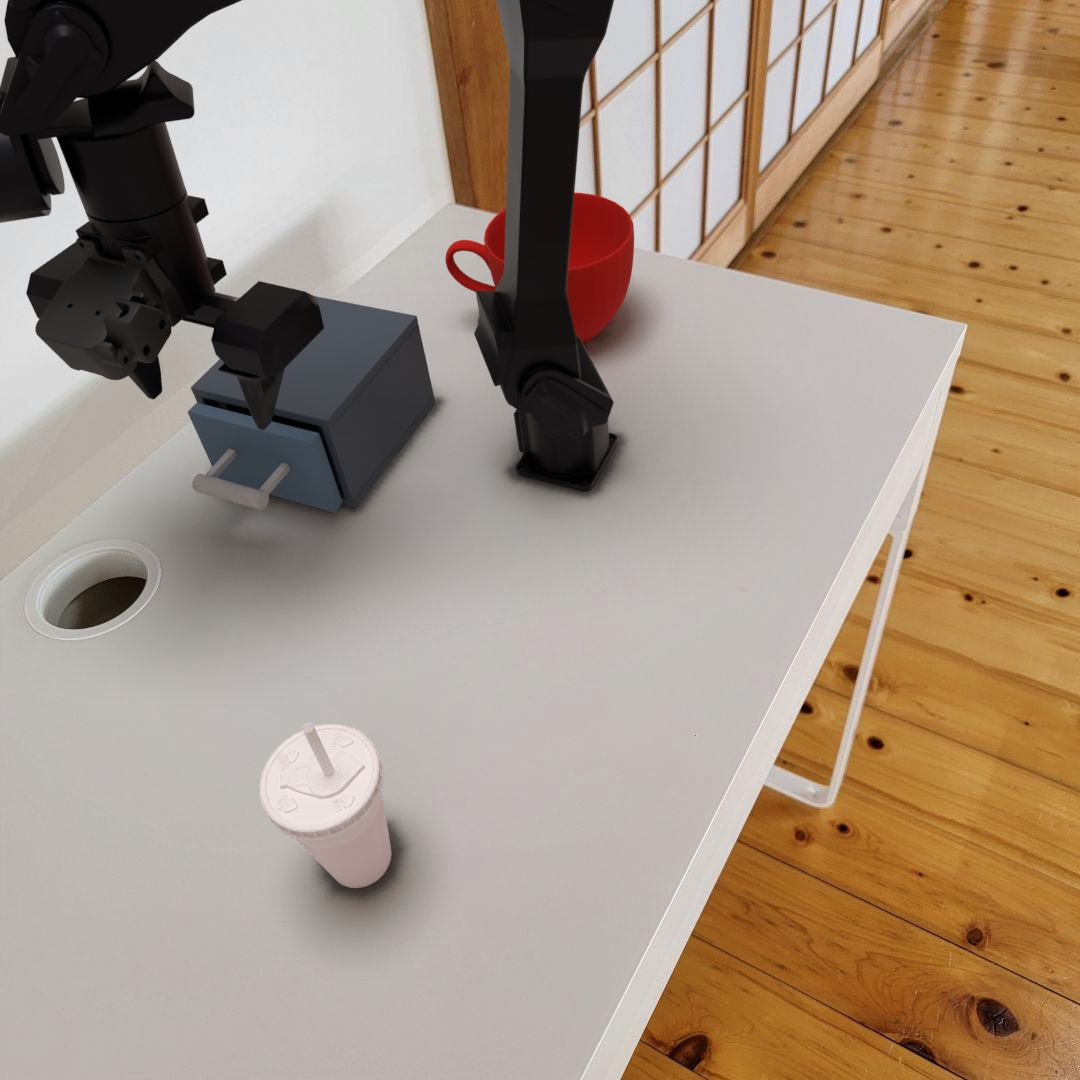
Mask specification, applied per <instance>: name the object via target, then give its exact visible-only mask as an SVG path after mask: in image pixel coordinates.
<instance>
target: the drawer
mask: <svg viewBox="0 0 1080 1080" xmlns="http://www.w3.org/2000/svg"><path fill="white" fill-rule="evenodd" d="M217 402H218V404H219V407H220V408H216V407H212V406H208V405H204V404H200V403H197V402H196V403H195V404H193V406H191V407H190V409H188V410H187V414H188V417H189V419H190V421H191V423H192V426H193V427H194V428H193V429H194V430H195V432H196V434H197V437H198V439H199V441H200V443H201V446H202V448H203V450H204V452H205V453H206V456H207V458H208V461H209V462H210V465H211V468H210V469H209V470H208V471H207V472H206V473H205V474H203V473H198V474H196V475H195V476H194V477H193V479H192V483H191V484H192V489H193V491H194V492H196V493H200V494H202V495H203V494H204V495H206V496H209V497H214V498H217V499H221V500H223V501H224V500H225V501H228V502H231V503H235V504H239V505H241V506H245V507H249V508H252V509H255V510H259V511H262V510H263V511H264V510H265V509H266V508H267V507H268V505H269V501H270V496H272V497H273V496H274V497H277V498H281V499H284V500H288V501H291V502H295V503H297V504H298V503H299V504H303V505H306V506H310V507H313V508H317V509H320V510H324V511H326V512H327V511H328V512H331V513H336V512H337V511H338V509H339V508H340V507H341V505H342V500H341V497H340V494H339V491H338V488H337V485H339V486H341V485H340V482H339V479H338V476H337V473H336V470H335V467H334V464H333V461H332V458H331V455H330V452H329V449H328V446H327V443H326V440H325V437H324V434H323V431H322V428H321V426H317V425H313V424H309V423H305V422H301V421H297V420H293V419H288V418H284V417H280V416H276V415H273V418H272V422H271V423H270V424H269V425H268V426H267V428H266V429H265V430H260V429H258V428H257V426H256V424H255V422H254V420H253V418H252V416H251V414H250V411H249V409H248V408H244V407H240V406H235V405H231V404H227V403H223V402H219V401H217Z"/></svg>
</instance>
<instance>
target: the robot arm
mask: <svg viewBox="0 0 1080 1080" xmlns="http://www.w3.org/2000/svg"><path fill="white" fill-rule="evenodd" d="M242 1H243V0H7V3H6V8H5V15H4V20H3V21H4V26H5V27H4V28H5V32H6V39H7V43H9V46H10V48H11V50H12V52H13V54H14V56H11V57H7V59H6V63H5V66H4V71H3V73H2V78H1V82H0V224H2V223H9V222H15V221H21V220H22V221H23V220H29V219H36V218H42V217H48V216H50V214H51V212H52V196H57V195H64V194H65V191H66V190H65V188H66V185H65V176H64V172H63V168H62V165H61V164H62V163H61V161H60V157H59V155H58V151H57V149H56V146H55V143H54V141H53V139H54V138H56V140H57V143H58V146H59V149H60V150H61V154H62V156H63V159H64V160H65V163H66V165H67V169H68V171H69V173H70V176H71V178H72V181H73V184H74V186H75V190H76V191H77V194H78V197H79V200H80V201H81V205H82V207H83V210H84V212H85V215H86V216H87V219H88V221H87V222H85V223H84V224H82V225H81V226H79V227H78V228H76V229H75V233H76V235H77V238H76V240H75V242H73V243H72V244H71V245H69V246H67V247H66V248H64V249H63V250H62V251H60V252H59V253H57V254H56V255H55V256H53V257H52V258H50V259H49V260H47V261H46V262H45V263H43V264H42V265H40V266H39V267H38V268H36V269H35V270H33V271H32V272H31V273H30V275H29V279H28V283H27V287H26V291H25V294H26V296H27V298H28V301H29V303H30V305H31V307H32V309H33V312H34V314H35V315H36V318H37V319H38V320H37V322H36V323H35V326H34V327H35V328H34V329H35V335H36V336H37V337H38V338H39V339H40V340H41V341H42V342H43V343H44V344H45V345H46V346H47V347H49V348H50V350H51V351H52V352H53V353H55V354H56V355H57V356H58V358H60V359H61V360H62V361H63V363H65V364H66V365H67V366H68V367H69V368H70V369H72V370H75V371H78V372H79V371H84V372H88V373H91V374H94V375H97V376H101V377H103V378H105V379H108V380H111V381H120V380H124V379H125V378H127V377H128V378H130V379H131V381H132V382H133V383H134V384H135V385H136V387H138V388H139V390H140V391H141V392H142V393H143V394H144V395H145V397H147V398H148V399H150V400H155V399H156V398H158V397H159V396H160V395H161V394H162V392H163V381H162V380H163V379H162V370H161V364H160V358H159V354H160V353H161V351H162V350H163V348H164V346H165V345H166V343H167V342H168V340H169V338H170V337H171V335H172V328H174V327H176V326H177V324H179V323H180V322H181V321H183V322H188V323H191V324H195V325H199V326H203V327H207V328H210V329H211V328H212V329H213V330H212V334H211V339H210V340H211V344H212V348H213V351H214V354H215V356H217V357H218V359H221V360H222V361H223V362H224V364H223V365H222V366H221V367H220V368H219V369H218V370H219V371H220V372H223V373H227V374H230V375H234V376H236V377H237V379H238V381H239V384H240V387H241V389H242V392H243V395H244V397H245V400H246V403H247V406H248V408H249V411H250V414H251V416H252V418H253V420H254V422H255V424H256V426H257V428H258V429H260V430H265V429H266V428H267V426H268V425H269V424H270V423H271V422H272V418H273V414H274V410H275V406H276V402H277V398H278V394H279V389H280V385H281V381H282V377H283V373H284V370H285V367H286V366H287V365H288V364H289V363H290V362H291V361H292V360H293V359H294V358H295V357H296V356H297V355H298V354H299V353H300V352H301V351H302V350H303V349H304V348H305V347H306V346H307V345H308V344H309V343H310V342H311V341H312V340H313V339H314V338H315V337H316V336H317V335H318V334H319V333H320V332H321V331H322V330H323V329H324V325H323V321H322V316H321V312H320V307H319V304H318V301H317V299H316V297H317V296H316V295H313V294H311V293H309V292H307V291H305V290H302V289H301V290H300V289H295V288H292V287H288V286H282V285H278V284H274V283H269V282H265V281H261V280H258V281H257V282H256V283H255V284H254V285H253V286H251V287H250V288H249V289H248V290H246V291H245V292H244V294H242V295H241V296H240V297H237V296H233V295H229V294H225V293H220V292H217V291H216V287H215V285H216V284H218V283H219V282H220V281H221V280H222V279H223V278H224V277H226V276H227V275H228V273H227V270H226V267H225V263H224V260H222V259H220V258H219V259H218V258H214V257H210V256H207V252H206V250H205V246H204V243H203V240H202V237H201V233H200V230H199V227H198V223H200V222H201V221H202V220H203V219H206V217H207V216H209V215H210V212H209V209H208V206H207V201H206V199H205V198H203V197H198V196H194V195H189V194H188V191H187V187H186V185H185V181H184V179H183V176H182V172H181V169H180V166H179V162H178V159H177V156H176V155H177V154H175V153H176V152H175V149H174V146H173V142H172V140H171V136H170V133H169V130H168V126H167V123H170V122H176V121H177V122H179V121H184V120H190V119H192V118H193V117H194V116H195V99H194V97H195V96H194V88H193V85H192V84H191V83H190V82H189V81H186V80H185V79H182V78H181V77H179V76H177V75H175V74H172V73H171V72H169V71H167V70H166V69H165V67H163V66H161V63H159V61H158V59H160V57H162V55H163V54H165V53H166V52H167V51H168V50H169V49H170V48H171V47H172V46H173V45H174V44H175V43H176V42H177V41H178V40H179V39H180V38H181V37H182V36H183V35H184V34H186V33H187V32H188V31H189V30H190V29H191V28H192V27H194V26H195V25H197V24H198V23H200V22H201V21H203V20H204V19H205V18H207V17H208V16H210V15H211V14H214V13H217V12H218V11H221V10H223V9H225V8H228V7H230V6H233V5H236V4H237V3H239V2H242ZM614 3H615V0H496V4H497V8H498V9H497V10H498V13H499V18H500V23H501V28H502V31H503V37H504V41H505V45H506V49H507V54H508V60H509V61H508V62H509V93H508V94H509V95H508V122H507V123H508V127H507V158H506V159H507V162H506V191H505V193H506V194H505V195H506V196H505V209H506V226H505V260H504V272H503V276H502V278H501V280H500V282H499V283H498V285H497V287H496V289H495V291H481V290H478V291H476V292H475V297H476V302H477V307H478V321H477V322H478V323H477V325H476V328H475V330H474V333H473V335H474V338H475V341H476V343H477V345H478V347H479V350H480V353H481V355H482V358H483V361H484V363H485V366H486V368H487V371H488V373H489V375H490V379H491V381H492V384H493V385H494V387H500V389H501V392H502V394H503V397H504V399H505V401H506V403H507V405H508V406H510V407H513V408H514V409H515V410H514V412H513V419H514V428H515V435H516V440H517V447H518V451H519V453H521V454H522V455H521V458H520V459H519V461H518V462H517V464H516V465H515V472H516V474H517V475H520V476H523V477H528V478H532V479H536V480H541V481H544V482H548V483H551V484H557V485H560V486H564V487H569V488H573V489H577V490H581V491H590V490H591V489H592V488H593V485H594V484H595V482H596V480H597V479H598V477H599V476H600V474H601V472H602V470H603V469H604V467H605V465H606V463H607V461H608V460H609V457H610V456H611V454H612V452H613V451H614V449H615V447H616V445H617V444H618V436H617V434H615V433H612V432H609V431H610V430H609V429H610V428H609V419H610V418H609V417H610V415H611V413H612V410H613V407H614V404H615V403H614V400H613V397H612V396H611V394H610V392H609V390H608V388H607V386H606V384H605V383H604V381H603V379H602V376H601V375H600V373H599V371H598V368H596V365H595V364H594V361H593V360H592V357H591V356H590V354H589V352H588V349H587V347H585V343H584V344H583V342H582V341H581V339H580V337H579V336H577V335H576V333H575V328H574V324H573V319H572V315H571V310H570V306H569V301H568V296H567V279H568V267H569V254H570V242H571V229H572V217H573V204H574V193H576V192H575V191H576V179H577V167H578V153H579V140H580V127H581V116H582V115H581V114H582V104H583V90H584V82H585V80H586V79H585V78H586V75H587V72H588V71H589V68H590V66H591V64H592V62H593V61H594V59H595V57H596V55H597V53H598V51H599V49H600V47H601V45H602V43H603V41H604V39H605V37H606V34H607V31H608V26H609V23H610V19H611V15H612V11H613V6H614ZM144 69H145V70H144ZM142 70H144V72H143V73H142V74H141V75H140V76H139V77H137V78H136V79H135V78H134V79H131V78H132V77H133V76H135V75H137V74H138V73H139V72H141V71H142ZM315 296H316V297H315Z"/></svg>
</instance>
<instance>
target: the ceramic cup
mask: <svg viewBox="0 0 1080 1080" xmlns="http://www.w3.org/2000/svg"><path fill="white" fill-rule="evenodd" d="M505 226H506V208H504V209H503V210H501V211H500V212H498V213H497V214H496V215H495V216H494V217H493V218H492V219H491V221H490V222H489V223H488V225H487V227H486V229H485V231H484V236H483V243H484V244H483V243H480V242H479V241H474V240H471V239H459V240H457V241H454V242H453V243H451V244H450V245H449V247H448V248H447V249H446V254H445V258H444V260H445V265H446V268H447V271H448V272H449V274H450V275H451V277H452V278H453V279H454V280H455V281H456V282H457V283H458V284H460V285H461V286H462V287H464V288H466V289H467V290H470V291H472V292H474V293H476V291H478V290H481V291H495V289H496V287H497V285H498V283H499V282H500V280H501V278H502V276H503V272H504V260H505ZM634 227H635V226H634V222H633V219H632V217H631V214H630V213H629V212H628V211H627V210H626V209H625V208H624V207H623V206H622V205H620V204H619V203H617V202H616V201H614V200H612V199H609V198H606V197H604V196H601V195H596V194H592V193H584V192H574V204H573V217H572V229H571V242H570V254H569V267H568V279H567V296H568V301H569V306H570V310H571V315H572V319H573V324H574V328H575V333H576V335H577V336H579V337H580V339H581V341H582V342H583V344H584V345H585V344H587V343H589V342H591V341H592V340H594V339H595V338H596V337H597V336H599V334H600V333H601V332H602V331H603V329H605V328H606V327H607V326H608V325H609V324H610V323H611V321H612V320H613V319H614V318H615V316H616V315H617V313H618V312H619V310H620V309H621V307H622V305H623V304H624V301H625V298H626V295H627V292H628V290H629V287H630V283H631V278H632V274H633V266H634V254H635V230H634V229H635V228H634ZM459 252H469V253H473V254H475V255H477V256H478V257H480V258H481V260H483V261H484V263H485V264H486V266H487V268H488V270H489V271H490V274H491V275H490V276H491V278H492V282H493V285H491V284H487V283H486V282H485V283H484V282H482V281H480V280H476V279H474V278H472V277H470V276H469V275H467V274H466V273H465V272H463V271H462V269H460V267H459V266H458V265H457V263H456V261H455V258H454V255H455V254H456V253H459Z"/></svg>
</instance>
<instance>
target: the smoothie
mask: <svg viewBox="0 0 1080 1080" xmlns="http://www.w3.org/2000/svg"><path fill="white" fill-rule="evenodd" d="M384 774H385V772H384V767H383V762H382V758H381V757H380V754H379V753H378V751H377V750H376V747H375V746H374V744H373V742H372V741H371V740H370V739H369V737H367V736H366V734H364V733H363V732H362V731H361V730H358V729H357V728H354V727H352V726H349V725H345V724H339V723H322V724H318V725H314V724H313V723H311V722H306V723H305V724H304V725H302V728H301V730H300V731H297V732H296V733H294V734H293V735H291V736H290V737H288V738H287V739H285V740H284V741H282V743H281V744H280V745H279V746H277V748H275V750H274V751H273V752H272V753H271V755H270V756H269V758H268V759H267V761H266V763H265V765H264V767H263V769H262V772H261V776H260V778H259V779H260V781H259V798H260V801H261V804H262V807H263V809H264V812H265V814H266V816H267V818H268V820H269V822H270V823H271V825H273V826H274V827H275V829H277V830H278V831H279V832H280V833H282V834H284V835H286V836H288V837H290V838H292V839H295V840H296V841H297V842H298V843H299V845H301V846H302V847H303V848H304V849H305V851H307V852H308V853H309V854H310V855H311V856H312V857H313V858H314V860H315V861H317V862H318V864H320V865H321V867H322V868H323V869H325V871H326V872H327V873H328V874H329V875H330V876H331V877H332V878H333V879H334V880H335V881H336V882H337V883H338V884H340V885H341V886H344V887H346V888H349V889H350V888H351V889H360V888H365V887H368V886H370V885H372V884H374V883H376V882H378V881H379V880H380V879H381V878H382V877H383V876H384V874H386V872H387V870H388V868H389V866H390V864H391V861H392V846H391V840H390V834H389V828H388V822H387V817H386V816H387V815H386V811H385V805H384V799H383V793H382V789H383V784H384V776H385V775H384Z"/></svg>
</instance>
